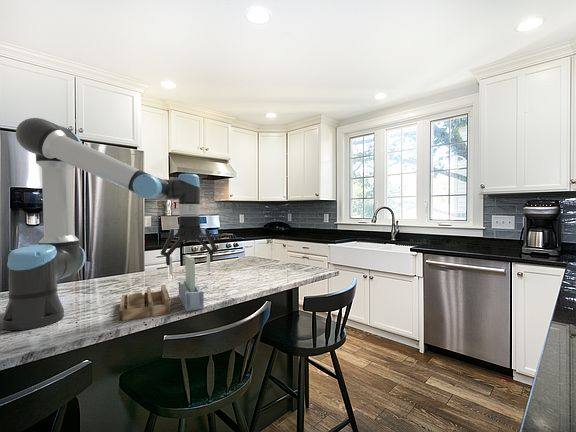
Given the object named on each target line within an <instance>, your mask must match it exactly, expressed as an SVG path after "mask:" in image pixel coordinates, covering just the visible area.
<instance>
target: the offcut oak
mask: <svg viewBox="0 0 576 432" xmlns="http://www.w3.org/2000/svg"><path fill="white" fill-rule="evenodd" d="M141 307H145V304H139V305H133V306H131V305H130V303H129V301H128V304H127V303H126V309H134V308H141Z"/></svg>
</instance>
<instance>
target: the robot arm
mask: <svg viewBox="0 0 576 432" xmlns="http://www.w3.org/2000/svg"><path fill="white" fill-rule="evenodd" d="M15 138H16V140H17V143H19V145H20V146H21V148H23V149H24V150H26V151H27V152H30V153H32V154H35V163H36V165H38V166H39V168H41V182H42V183H41V184H42V185H41V187H42V188H41V189H42V210H43V211H42V215H43V216H42V217H43V237H42V238H41V239H40V240H39V241H38V244H34V245H33V244H32V245H29V246H21V247H18V248H16V249H13V250H12V251H10V252H9V254H8V256H7V263H6V266H7V279H8V280H7V282H8V285H7V286H8V302H7V305H6V306H5V310H4V313H3V315H2V318H1V329H3V330H5V331H22V330H30V329H36V328H40V327H44V326H49V325H51V324H53V323H56V322H58V321H61V320H63V318H64V317H65V308H64V307H63V304H62V302H61V299H60V297H59V295H58V281H59V280H61V279H64V278H68V277H71V276H73V275H75V274H76V273H78V272H79V271H80V270H81V269H82V268H83V267H84V265H85V263H86V258H87V257H86V256H87V255H86V252H85V250H84V248H82V246H80V239H79V238H78V237H77V236H76V235H75V225H74V223H75V222H74V198H73V197H74V194H73V192H74V191H73V169H74V168H78V169H80V170H82V171H84V172H87V173H89V174H90V175H94V176H96V177H98V178H100V179H103V180H104V181H108V182H109V183H111V184H114V185H116V186H118V187H120V188H123V189H124V190H127V191H130V192H131V193H134V194H136V196H138V197H140V198H143V199H145V200H149V201H150V200H151V201H166V200H167V201H168V200H169V201H171V200H172V201H173V200H174V201H177V200H178V215H179V217H178V229H173V228H170V230H169V234H168V237H167V238H166V241H165V243H164V245H163V247H162V249H161V251H160V255H161V256H164V257H165V265H166V266H168V268H169V272H168V273H169V275H171V276H173V256H172V254H173V253H174V252H175V250H176V249H177V248H178V246H179V245H180V244H181V243H182V242H183V241H185V242H188V241H191V242H192V241H193V242H194V241H197V242H198V243H199V244H200V245H202V247H203V248H204V249H205V250H206V251H207V253H206V271H207V272H211V263H212V262H213V260H214V258H213V257H214V256H213V255H214V254H215V253H216V252H217V253H218V251H219V249H218V247H217V246H216V244H215V243H214V240H213V239H212V236H211V234H210V229H209V228H207V227H204V228H201V217H200V216H199V215H200V214H201V208H200V207H201V203H200V202H201V198H200V197H201V191H200V190H201V185H200V177H199V175H197V174H196V173H195V174H194V173H180V174H179V175H178V177H177V178H176V179H164V178H163V179H162V178H160V177H157V176H153V175H152V174H149V173H147V172H145V171H143V170H140V169H139V168H136V167H135V166H131V165H130V164H128V163H125V162H124V161H121V160H119V159H117V158H114V157H112V156H110V155H108V154H105V153H104V152H102V151H100V150H97V149H95V148H93V147H91V146H88V145H86V144H84V143H82V141H81V139H80V137H79V136H78V135H77V134H76V133H75V132H73V131H72V130H71V129H69V128H67V127H65V126H61V125H59V124H56V123H55V122H52V121H50V120H47V119H44V118H40V117H30V118H27V119H24V120H22V121H21V122H19V124H18V125H17V127H16V129H15ZM202 233H203V235H205V237H206V240H207V241H208V243H209V245H210V247H211V248H210V247H209V245H208V244H207V243H206V242H205V241H204V240H203V239H202V238H201V236H200V235H201V234H202ZM176 234H178V235H179V238H178V239H177V240H176V241H175V242H174V243H173V245H171V247H170V249H169V250H168V248H169V246H170V244H171V242H172V240H173V238H174V236H176ZM167 250H168V251H167Z"/></svg>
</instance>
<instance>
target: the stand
mask: <svg viewBox="0 0 576 432" xmlns="http://www.w3.org/2000/svg"><path fill="white" fill-rule="evenodd" d="M178 298H179V299H180V302H181V304H182V306H183V309H184V310H185V312H190V311H197V310H202V309H203V310H204V306H205V305H204V303H205V301H204V299H205V298H204V291H203V290H202V289H201V288H200V286H199V285H198V284H197V282H195V292H191V293H190V292H189V291H188V289H187V287H186V280H180V281H178Z"/></svg>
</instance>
